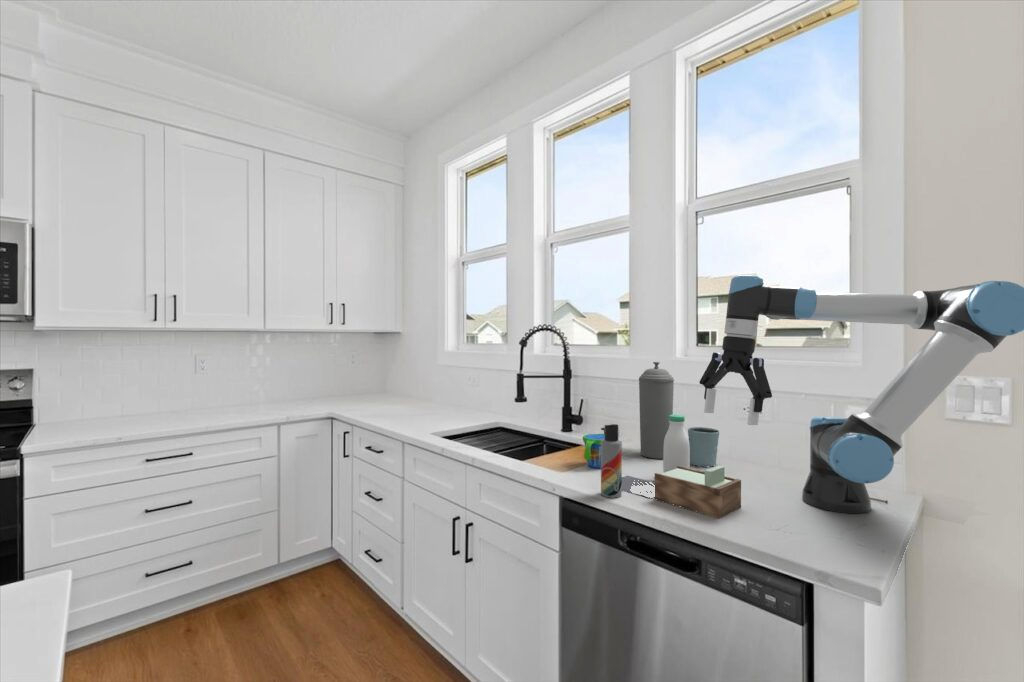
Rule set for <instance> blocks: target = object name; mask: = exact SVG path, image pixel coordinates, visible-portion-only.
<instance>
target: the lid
mask: <svg viewBox="0 0 1024 682" xmlns="http://www.w3.org/2000/svg"><path fill="white" fill-rule="evenodd" d="M704 472H705V474H700V473H696V472H692V471H688V470H683V469H679V468H677V469H674V470H671V471H667V472H664V473H663V472H662V473H660V474H662V475H666V476H670V477H674V478H678V479H682V480H686V481H690V482H694V483H698V484H702V485H706V486H710V487H714V488H716V487H719V486H721V485H723V484H726V483H728V482H731V480H726V479H724V476H725V466H722V465H715V466H714V467H709V468H707V469H705V470H704Z"/></svg>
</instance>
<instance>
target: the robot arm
mask: <svg viewBox="0 0 1024 682" xmlns="http://www.w3.org/2000/svg"><path fill="white" fill-rule="evenodd" d="M730 280H731V281H730V283H729V285H730V286H729V291H728V296H727V306H726V315H725V325H724V331H723V332H724V334H725V336H724V337H723V339H722V346H721V348H722V350H723V353H722V352H715V351H714V352H713V353H712V355H711V360H710V362H709V364H708V365H707V367H706V368H705V371H704V373H703V374H702V376H701V378H700V380H699V384H700V385H702V386H703V387H704V388H705V389H704V396H703V398H704V401H705V402H704V409H703V413H706V414H714V411H715V403H716V394H717V388H716V386H717V385H718V384H719V383H720V382H721V380H723V378H724V377H725V376H726V375H727V374H729V373H735V374H740V375H741V376H742V377H743V379H744V382H745V383H746V385H747V387H748V388H749V390H750V393H751V395H752V398H751V397H750V401H749V409H748V416H747V425H748V426H758V425H759V424H758V423H759V417H760V413H762V411H763V407H764V406H763V405H764V400H765V399H771V398H772V397H773V393H772V390H771V387H770V383H769V380H768V378H767V373H766V371H765V360H764V358H762V357H754V358H753V354H754V353H755V349H756V348H755V347H756V339H755V338H754V337H757V333H758V324H759V317H760V316H764V317H767V318H768V319H770V320H776V321H777V320H793V321H794V320H797V321H798V320H799V321H800V320H802V321H823V322H824V321H825V322H843V323H863V324H864V323H866V324H887V325H888V324H889V325H908V326H910V328H912V329H915V330H925V331H926V330H928V331H935V332H934V333H933V335H932V336H931V337H930V338H929V339H928V340H927V341H926V342H925V343H924V345H923V346H922V347H921V348H920V349H919V350H918V351H917V352H916V353H915V355H914V356H913V357H912V358H911V359H910V360H909V361H908V363H907V364H905V365H904V366H903V368H902V369H901V370H900V371H899V372H898V373H897V375H895V376H894V378H893V379H892V380H891V381H890V382H889V383H888V384H887V386H885V387H884V389H883V390H882V391H881V392H880V393H879V394H878V395H877V396H876V398H875V399H874V400H873V401H872V402H871V403H870V404H869V405H868V406H867V407H866V409H865V410H864V411H863V412H857V413H851V414H850V415H849V416H848V417H835V416H834V417H833V416H832V417H830V416H827V417H826V416H814V417H812V418H811V419H810V426H809V434H810V437H809V441H810V442H809V447H810V448H809V457H810V459H809V461H810V462H809V464H810V465H809V473H808V476H807V478H806V480H805V483H804V486H803V488H802V492H801V493H802V496H801V497H802V500H803V501H804V502H805V503H807V504H809V505H811V506H813V507H816V508H819V509H823V510H827V511H832V512H837V513H846V514H865V513H868V512H870V511H871V509H872V507H871V505H872V504H871V497H870V495H869V492H868V490H867V489H868V488H867V487H866V485H865V484H873V483H876V482H880V481H881V480H884V479H885V478H886V477H888V476H889V475H890V473H891V472H892V470H893V468H894V465H895V461H894V456H895V455H896V454H897V453H899V451H900V450H901V448H903V446H904V445H903V441H902V436H903V434H905V433H906V432H907V430H908V429H910V427H911V426H912V425H913V424H914V423H915V422H916V421H917V420H918V419H919V418H920V416H921V415H922V414H924V413H925V411H926V410H927V409H928V408H929V407H930V406H931V405H932V404H933V403H934V402H935V401H936V400H937V398H938V397H940V395H941V394H942V393H943V392H944V390H946V389H947V388H948V387H949V386H950V385H951V383H952V382H953V381H954V380H955V379H956V378H957V377H958V376H959V375H960V374H961V373H962V372H963V371H964V369H965V368H966V367H967V366H968V365H969V364H970V363H971V362H972V361H973V360H974V359H975V358H976V356H978V355H980V354H982V353H983V354H985V353H992V352H993V351H994V350H995V349H996V348H997V347H998V346H999V345H1000V344H1001V343H1002V342H1003V341H1004V340H1005V338H1007V336H1008V337H1009V336H1014V335H1017V334H1019V333H1020V332H1021V333H1022V332H1023V331H1024V286H1022V285H1020V284H1018V283H1015V282H1012V281H1007V280H989V281H983V282H981V283H976V284H971V285H963V286H958V287H953V288H947V289H941V290H918V291H916V292H914V293H913V294H895V293H894V294H893V293H892V294H891V293H890V294H889V293H886V294H885V293H884V294H883V293H853V292H852V293H851V292H849V293H847V292H844V293H843V292H816V290H815V289H813V288H808V287H807V288H805V287H802V286H800V287H794V286H778V285H767V284H764V283H765V282H764V278H763V277H762V276H759V275H750V274H749V275H748V274H740V275H735V276H733V277H732V278H731V279H730ZM751 366H752V368H751Z"/></svg>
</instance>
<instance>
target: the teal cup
mask: <svg viewBox="0 0 1024 682" xmlns="http://www.w3.org/2000/svg"><path fill="white" fill-rule="evenodd" d="M687 433H688V434H687V436H688V439H689V445H690V463H691V464H690V465H692V464H693V465H692V466H694V465H697V466H696V467H699V466H714V465H715V466H717V454H718V446H719V437H720V430H718V429H715V428H711V427H702V426H699V427H698V426H693V427H688V428H687ZM715 466H714V467H715Z"/></svg>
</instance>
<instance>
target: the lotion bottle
mask: <svg viewBox="0 0 1024 682" xmlns="http://www.w3.org/2000/svg"><path fill="white" fill-rule="evenodd" d="M603 432H604V433H603V434H604V439H605V440H602V441H601V468H600V494H601V496H603V497H605V498H608V497H610V498H609V499H616V498H615V497H617V498H620V497H622V477H623V473H622V471H623V469H622V468H623V467H622V466H623V464H622V463H623V460H622V458H623V457H622V455H623V453H622V452H623V448H622V447H623V444H622V443H623V442H622V441H621V440H619V424H618V423H617V424H615V423H611V424H605V425H604V431H603Z"/></svg>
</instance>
